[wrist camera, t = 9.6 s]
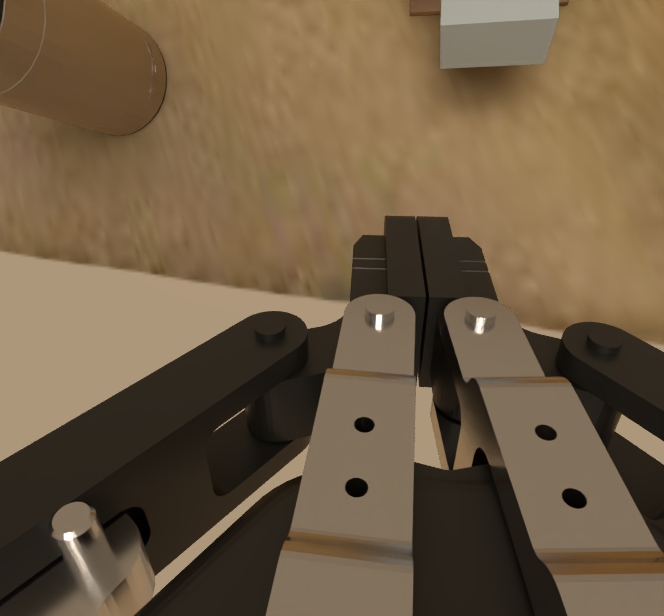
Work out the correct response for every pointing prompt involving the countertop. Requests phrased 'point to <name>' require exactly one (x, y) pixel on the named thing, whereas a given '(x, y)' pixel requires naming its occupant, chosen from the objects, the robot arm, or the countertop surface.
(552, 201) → the countertop surface
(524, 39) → the chute
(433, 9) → the stand
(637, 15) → the countertop surface
